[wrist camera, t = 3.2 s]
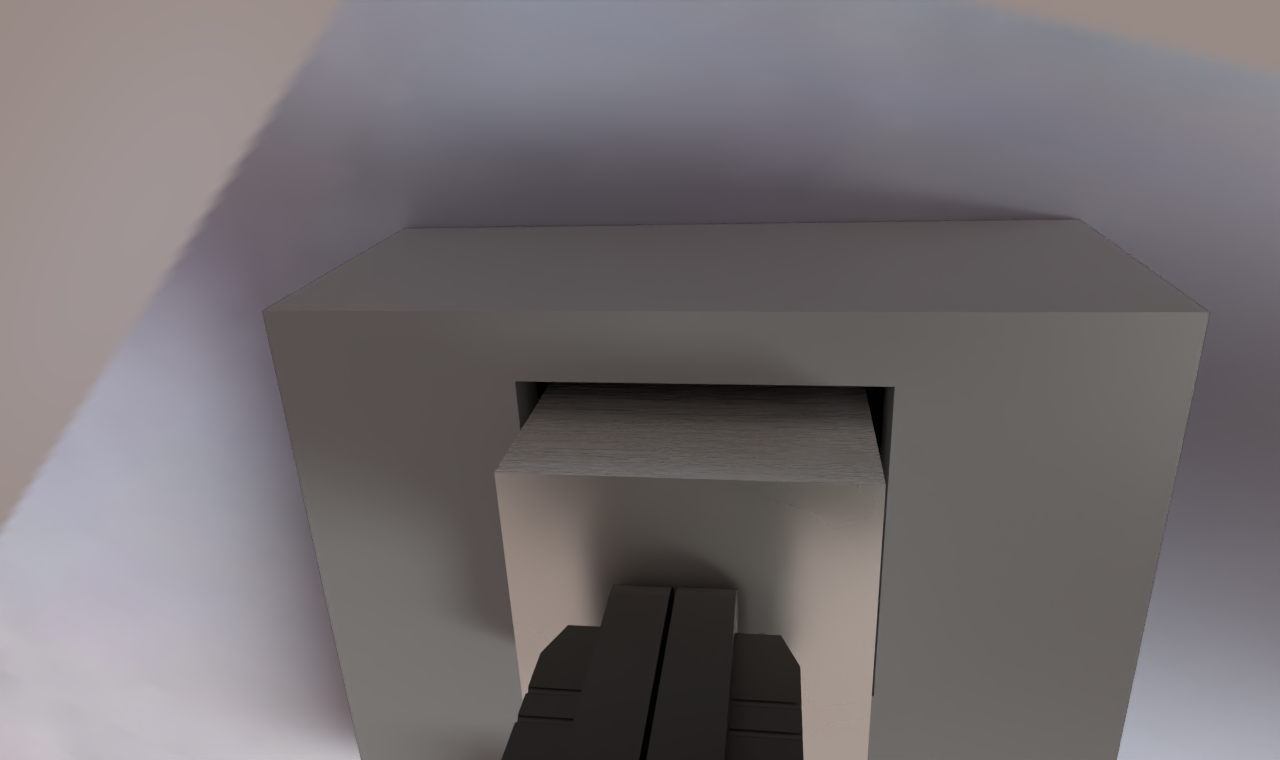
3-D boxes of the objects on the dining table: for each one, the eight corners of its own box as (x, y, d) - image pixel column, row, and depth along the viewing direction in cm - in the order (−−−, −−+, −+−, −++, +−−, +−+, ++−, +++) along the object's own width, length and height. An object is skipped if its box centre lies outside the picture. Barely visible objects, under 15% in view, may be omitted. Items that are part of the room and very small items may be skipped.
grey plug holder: (1078, 219, 15) (1209, 312, 10) (991, 827, 20) (1053, 1066, 16) (404, 228, 17) (262, 310, 12) (487, 783, 22) (410, 984, 18)
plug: (854, 341, 14) (884, 484, 10) (843, 580, 15) (865, 789, 11) (577, 339, 14) (494, 472, 10) (594, 568, 16) (530, 761, 12)
